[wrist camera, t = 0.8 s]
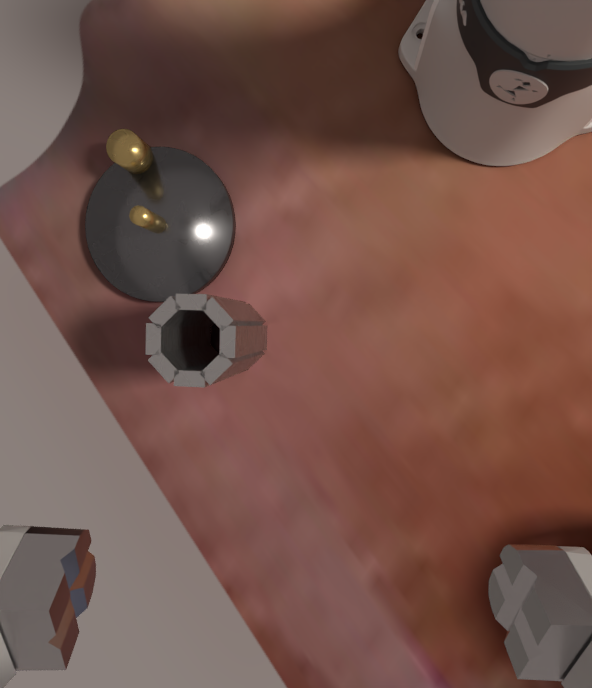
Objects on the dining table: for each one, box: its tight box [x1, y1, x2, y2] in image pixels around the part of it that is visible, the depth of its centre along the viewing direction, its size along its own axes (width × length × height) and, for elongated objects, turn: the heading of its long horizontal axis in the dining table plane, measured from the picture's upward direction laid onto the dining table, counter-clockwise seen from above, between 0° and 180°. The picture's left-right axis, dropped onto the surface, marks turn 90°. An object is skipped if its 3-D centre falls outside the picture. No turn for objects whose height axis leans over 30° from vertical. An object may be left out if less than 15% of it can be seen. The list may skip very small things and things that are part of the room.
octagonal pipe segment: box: [146, 294, 267, 387], centre depth 41 cm, size 6×6×12 cm
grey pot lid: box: [85, 129, 236, 302], centre depth 44 cm, size 14×14×5 cm
